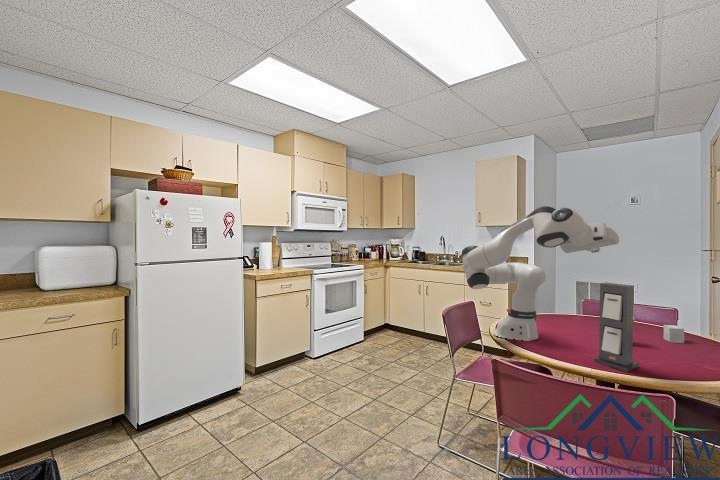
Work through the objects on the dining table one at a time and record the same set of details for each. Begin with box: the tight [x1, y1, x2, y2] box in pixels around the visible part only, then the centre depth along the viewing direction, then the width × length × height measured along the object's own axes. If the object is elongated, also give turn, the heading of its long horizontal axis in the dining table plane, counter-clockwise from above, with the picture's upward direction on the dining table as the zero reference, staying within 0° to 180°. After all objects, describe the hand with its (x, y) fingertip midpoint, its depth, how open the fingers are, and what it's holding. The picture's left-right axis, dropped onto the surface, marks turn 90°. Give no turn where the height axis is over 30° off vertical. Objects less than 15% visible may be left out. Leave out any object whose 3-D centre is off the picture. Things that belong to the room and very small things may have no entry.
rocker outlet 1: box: [602, 326, 623, 355], centre depth 141 cm, size 2×6×10 cm, turn 29°
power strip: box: [594, 281, 640, 373], centre depth 142 cm, size 10×12×34 cm
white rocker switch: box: [602, 293, 623, 321], centre depth 140 cm, size 2×6×10 cm, turn 29°
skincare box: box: [663, 324, 685, 344], centre depth 171 cm, size 6×6×7 cm
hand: (596, 250), depth 142 cm, fingers closed
